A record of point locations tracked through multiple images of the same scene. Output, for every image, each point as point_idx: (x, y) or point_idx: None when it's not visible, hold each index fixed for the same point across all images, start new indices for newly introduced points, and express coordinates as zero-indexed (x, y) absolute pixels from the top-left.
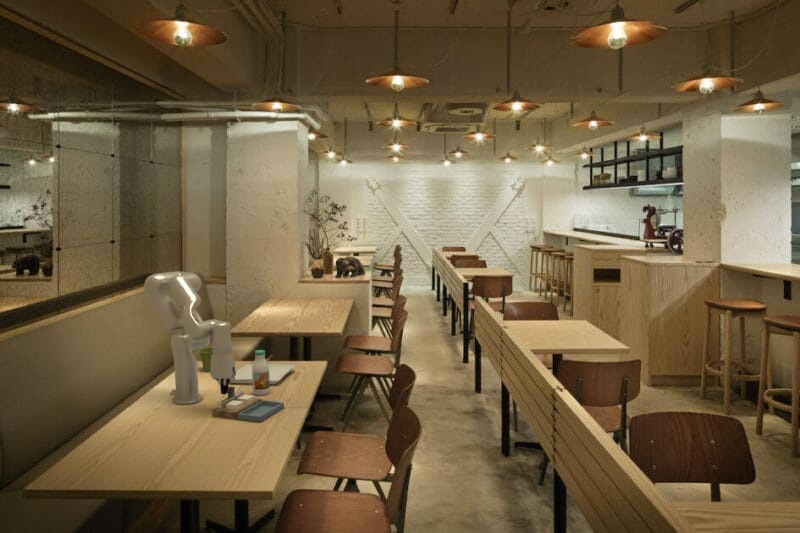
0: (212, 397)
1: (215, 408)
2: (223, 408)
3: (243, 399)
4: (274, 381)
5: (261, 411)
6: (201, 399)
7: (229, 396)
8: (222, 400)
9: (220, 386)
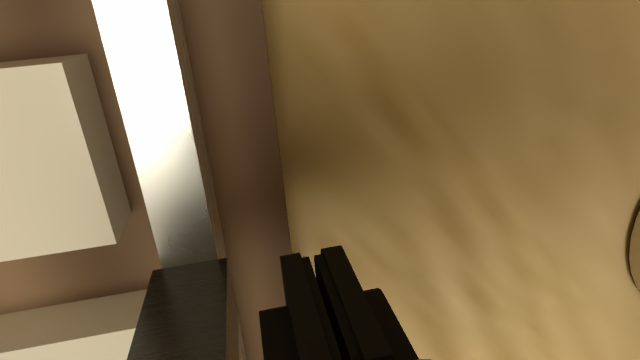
0: (577, 339)
1: (247, 3)
2: None
3: (43, 339)
4: None
5: None
6: (632, 263)
7: (197, 271)
8: (181, 110)
9: (382, 332)
